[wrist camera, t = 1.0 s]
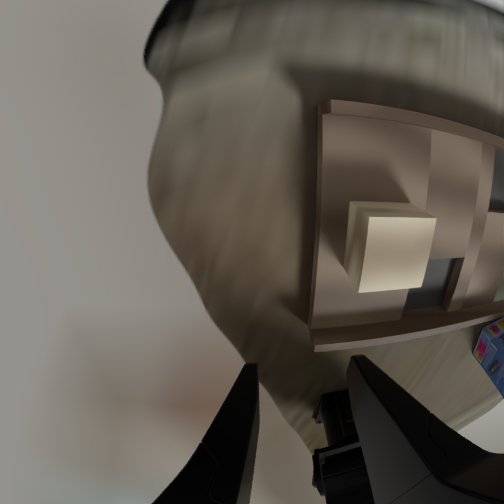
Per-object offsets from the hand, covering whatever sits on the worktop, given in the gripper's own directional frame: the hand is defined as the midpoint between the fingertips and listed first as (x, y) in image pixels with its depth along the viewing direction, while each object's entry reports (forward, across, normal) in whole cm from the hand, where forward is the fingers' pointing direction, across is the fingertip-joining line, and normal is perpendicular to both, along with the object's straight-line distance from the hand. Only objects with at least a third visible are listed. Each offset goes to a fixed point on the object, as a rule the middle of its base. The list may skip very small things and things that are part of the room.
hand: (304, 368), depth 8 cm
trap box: (+13, -18, 0) cm, 22 cm away
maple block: (+12, -8, 0) cm, 14 cm away
